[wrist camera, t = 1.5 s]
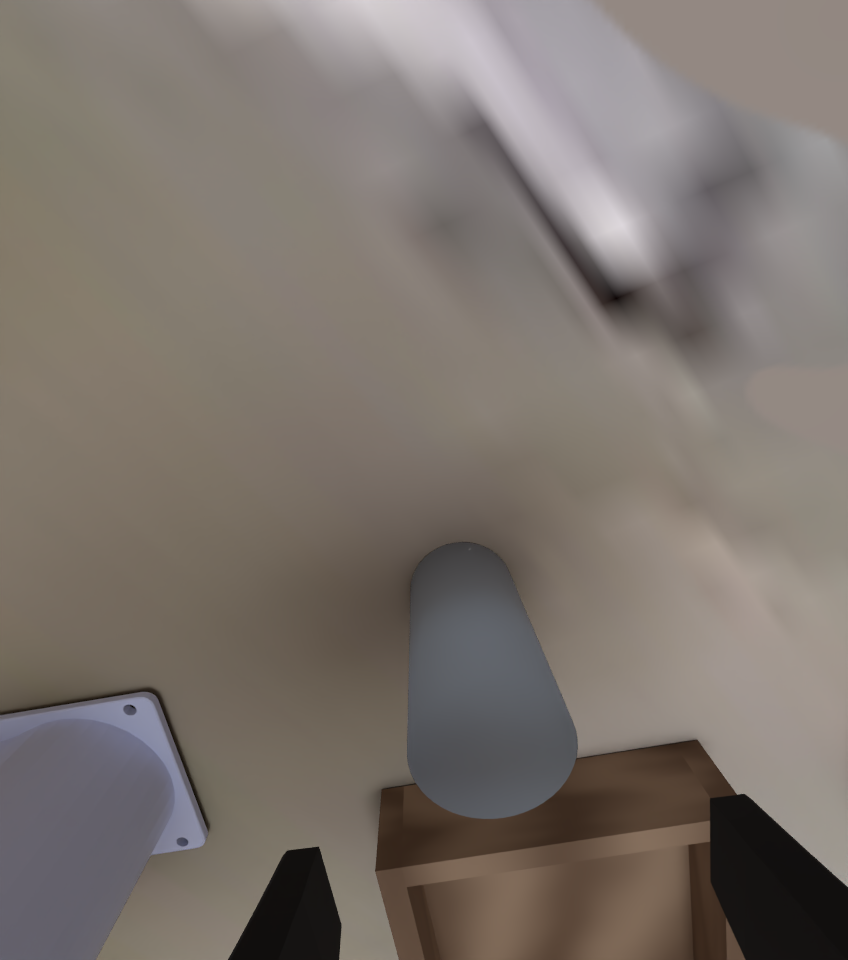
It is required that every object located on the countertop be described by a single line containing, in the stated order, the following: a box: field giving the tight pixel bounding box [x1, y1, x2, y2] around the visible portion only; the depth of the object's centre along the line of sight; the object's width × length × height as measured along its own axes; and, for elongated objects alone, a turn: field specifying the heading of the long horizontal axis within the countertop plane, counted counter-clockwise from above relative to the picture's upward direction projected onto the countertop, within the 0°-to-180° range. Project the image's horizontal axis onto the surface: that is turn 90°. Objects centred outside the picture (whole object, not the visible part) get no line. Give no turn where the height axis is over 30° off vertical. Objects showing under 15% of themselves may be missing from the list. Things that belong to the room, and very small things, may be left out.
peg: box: [407, 542, 578, 819], centre depth 15 cm, size 4×4×8 cm
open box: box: [375, 740, 746, 960], centre depth 21 cm, size 14×14×4 cm
